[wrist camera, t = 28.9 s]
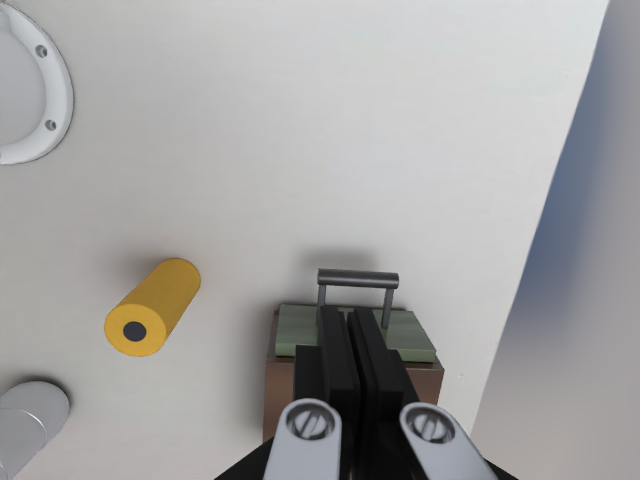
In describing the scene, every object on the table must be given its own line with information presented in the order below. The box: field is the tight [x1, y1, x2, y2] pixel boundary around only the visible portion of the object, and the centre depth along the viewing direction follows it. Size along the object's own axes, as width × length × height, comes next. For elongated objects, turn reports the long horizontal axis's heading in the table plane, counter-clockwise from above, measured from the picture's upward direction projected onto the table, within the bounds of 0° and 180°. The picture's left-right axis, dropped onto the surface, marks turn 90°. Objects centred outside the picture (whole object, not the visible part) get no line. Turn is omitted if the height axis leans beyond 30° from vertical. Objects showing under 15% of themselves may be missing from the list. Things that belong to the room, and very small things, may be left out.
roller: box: [104, 259, 201, 357], centre depth 31 cm, size 4×4×10 cm
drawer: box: [275, 268, 436, 363], centre depth 34 cm, size 20×13×7 cm
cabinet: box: [263, 311, 444, 480], centre depth 35 cm, size 16×15×9 cm
